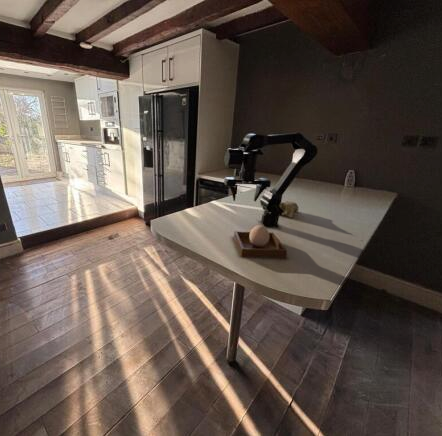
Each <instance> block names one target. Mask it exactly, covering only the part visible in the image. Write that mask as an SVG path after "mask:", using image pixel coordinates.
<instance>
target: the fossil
mask: <svg viewBox="0 0 442 436" xmlns="http://www.w3.org/2000/svg"><path fill="white" fill-rule="evenodd" d="M279 206H280V208H281V209H282V210H283V213H282V214H284V215H286V217H288V218H290V219H292V218H293V217H294V214H295V213H294V212H299V205H298V204H297V203H296V202H294V201H288V200H287V201H283V202H281V203H280V205H279Z"/></svg>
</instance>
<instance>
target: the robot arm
mask: <svg viewBox="0 0 442 436" xmlns="http://www.w3.org/2000/svg"><path fill="white" fill-rule="evenodd" d="M284 144H290V146H291V148H292V149H293V150H294V152H293V154H292V161H291V162H290V164H289V165H288V166H287V168H286V169H285V171H284V172H283V174H282V175H281V177H280V178H279V179H278V181H277V182H276V184H275V185H274V186H273V188H272V189H270V190H269V191H268V189H267V188H271V185H272V184H271V183H272V182H271V179H268V178H267V177H258V178H257V179H256V178H255V177H256V172H257V171H258V169H257V164H258V156H263V155H264V153H263V151H262V150H261V149H263V148H265V147H267V146H274V145H284ZM318 154H319V152H318V147H317V146H316V145H315V144H313V143H312V142H311V141H310V140H309V139H307V138H306V137H305V136H304V135H303V134H302V133H301V132H296V131H294V132H293V131H292V132H287V133H277V134H257V133H248V134H246V135H245V136H244V137H243V141H242V142H241V143H240V144H239V146H238V147H237V148H227V150H226V152H225V155H224V158H223V160H224V165H225V166H226V167H230V166H232V167H237V166H238V167H239V166H241V168H240V169H239V168H235V169H234V171H233V176H225V177H224V183H223V184H224V185H225V186H226V187H228V188H229V189H230V191H231V195H232V200H233V201H234V202H235V201H236V197H237V196H236V195H237V186H236V185H255V194H254V197H253V202H257V200H258V199H259V198H260V201H259V202H260V205H261V207H262V210H263V213H262V214H261V220H260V223H261V224H262V226H264V227H266V228H279V227H280V226H279V219H280V216H282V215H283V214H284V213H283V210H282V209H281V208H280V206H279V205H280V203H282V199H283V195H284V193H285V192H286V191H287V190H288V188H289V186H290V185H291V184H292V183H293V181H294V180H295V178H296V177H297V176H298V174H299V172H300V171H301V170H302V168H303V167H305V166H307V164H310V163H311V162H312V161H313V160H314V159H315V158H316V156H317V155H318ZM235 177H237V178H235ZM263 192H264V193H263ZM262 193H263V194H262Z"/></svg>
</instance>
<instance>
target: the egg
mask: <svg viewBox="0 0 442 436" xmlns="http://www.w3.org/2000/svg"><path fill="white" fill-rule="evenodd" d="M249 232H250V235H249V239H250V241H251V243H252V244H253V245H254V246H257V247H262V246H265V245H266V244H267V243H268V241H269V238H270V236H269V233H270V232H269V229H268V227H265V226H264V225H263V224H262V225H261V224H259V225H256V226H254V227H253V228H252V229H251V230H250V231H249Z"/></svg>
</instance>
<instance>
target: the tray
mask: <svg viewBox="0 0 442 436" xmlns="http://www.w3.org/2000/svg"><path fill="white" fill-rule="evenodd" d="M250 232H251V231H238V230H237V231H236V230H234V232H233V240H234V242H235V245H236V247H237V249H238V252H239V254H240V255H239V256H240V257H243V258H244V257H245V258H265V259H266V258H267V259H269V258H270V259H286V258H287V253H288V250H287V249H286V247H285V246H284V245H283V244H282V242H281V241H280V240H279V238H278V237H277V236H276V234H275V233H274V232H269V236H270V238H269V241H268V243H267V244H266V245H265V246H262V247H257V246H254V245H253V244H252V243H251V241H250V239H249V235H250Z"/></svg>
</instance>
